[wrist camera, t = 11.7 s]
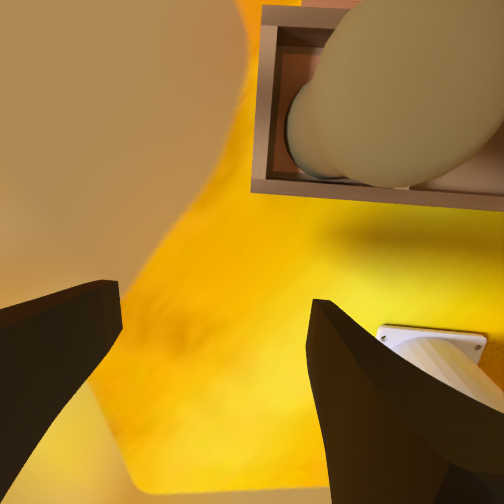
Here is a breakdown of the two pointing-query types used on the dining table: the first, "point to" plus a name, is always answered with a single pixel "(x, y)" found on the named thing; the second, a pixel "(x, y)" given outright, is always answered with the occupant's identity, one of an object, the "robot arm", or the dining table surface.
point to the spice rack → (301, 72)
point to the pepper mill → (401, 92)
